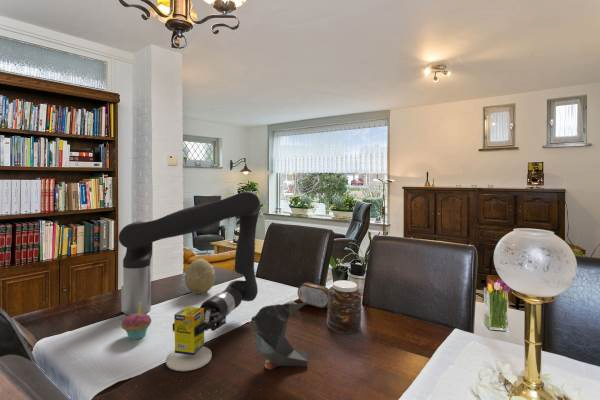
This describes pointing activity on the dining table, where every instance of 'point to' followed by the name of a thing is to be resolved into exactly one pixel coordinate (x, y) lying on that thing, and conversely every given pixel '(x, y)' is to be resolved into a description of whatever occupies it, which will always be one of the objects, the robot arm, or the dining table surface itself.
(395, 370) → the dining table surface
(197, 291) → the fossilized egg
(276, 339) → the grey bird figurine
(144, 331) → the cupcake
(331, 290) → the jar
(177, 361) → the plate
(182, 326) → the supplement box
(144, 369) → the dining table surface
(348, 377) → the dining table surface
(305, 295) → the tin
